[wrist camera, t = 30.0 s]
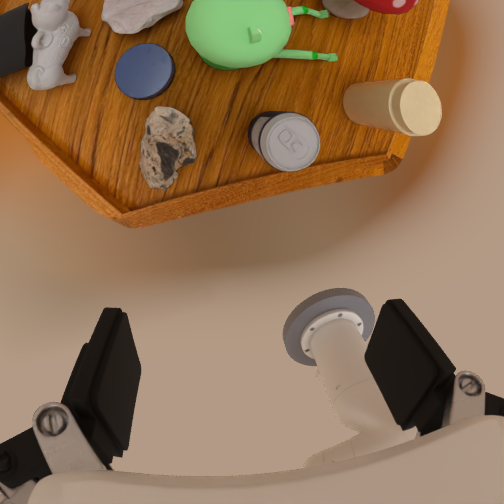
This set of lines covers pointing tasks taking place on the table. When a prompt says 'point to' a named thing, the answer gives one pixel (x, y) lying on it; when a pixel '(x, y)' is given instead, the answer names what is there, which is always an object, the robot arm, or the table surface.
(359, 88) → the lidded jar
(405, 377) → the robot arm
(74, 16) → the dog figurine
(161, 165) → the rock
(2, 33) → the pen holder
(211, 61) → the toy character
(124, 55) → the lid
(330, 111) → the table surface
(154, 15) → the fossil
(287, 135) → the beverage can
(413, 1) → the decorative mushroom
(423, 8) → the table surface
